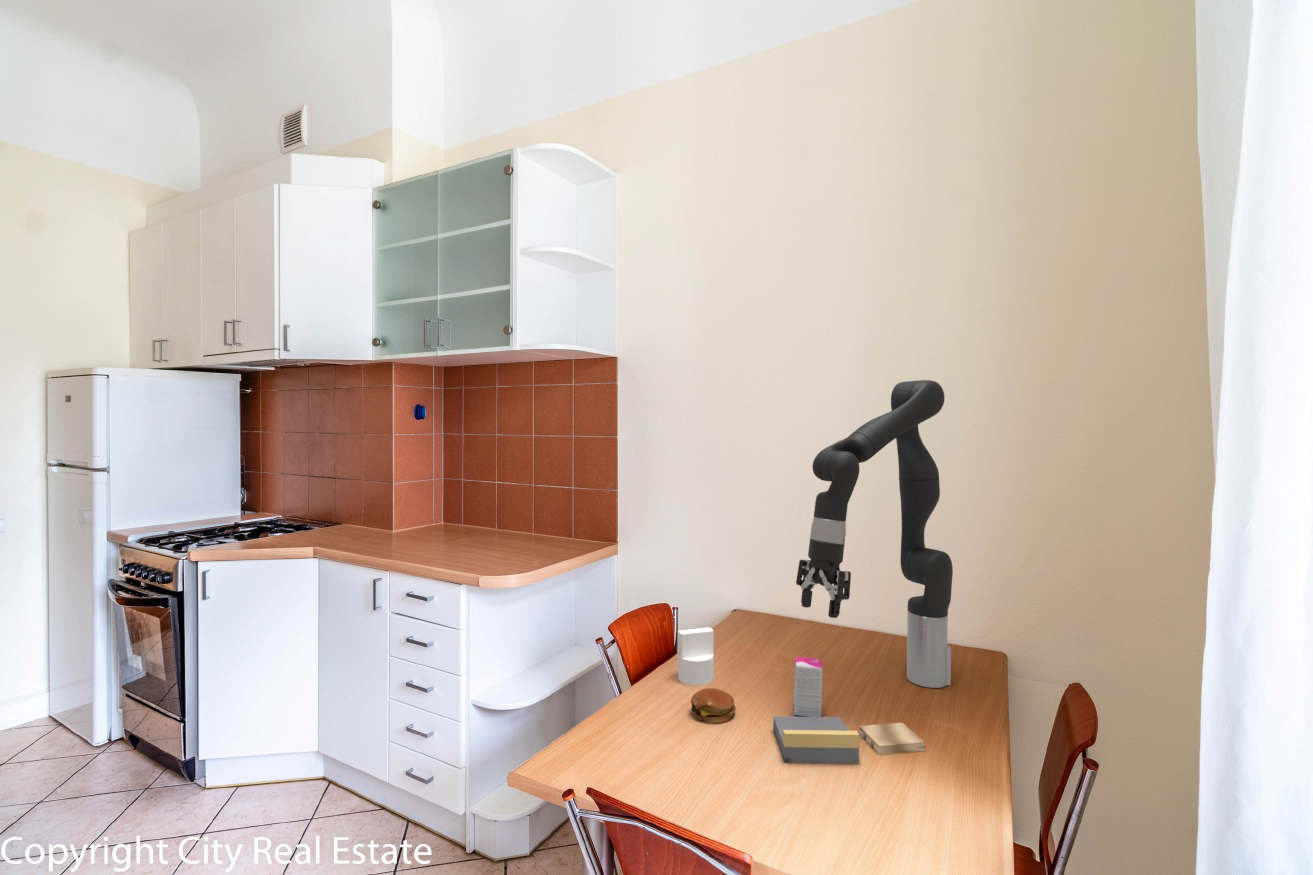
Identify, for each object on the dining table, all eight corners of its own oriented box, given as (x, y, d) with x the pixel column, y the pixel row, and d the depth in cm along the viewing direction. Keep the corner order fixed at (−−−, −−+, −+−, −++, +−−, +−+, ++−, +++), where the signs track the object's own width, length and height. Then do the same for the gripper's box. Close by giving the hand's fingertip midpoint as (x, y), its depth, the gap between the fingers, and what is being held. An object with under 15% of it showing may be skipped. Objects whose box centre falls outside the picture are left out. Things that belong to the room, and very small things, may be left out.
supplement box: (822, 720, 129) (822, 667, 129) (794, 717, 130) (794, 665, 130) (820, 708, 135) (820, 657, 135) (793, 705, 136) (793, 655, 136)
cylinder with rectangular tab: (705, 668, 157) (705, 623, 156) (719, 682, 148) (719, 634, 148) (672, 673, 154) (673, 626, 154) (685, 687, 145) (685, 638, 145)
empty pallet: (903, 731, 125) (903, 722, 125) (925, 751, 117) (925, 741, 117) (858, 735, 123) (858, 725, 123) (878, 755, 116) (878, 745, 116)
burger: (729, 703, 137) (729, 683, 137) (739, 723, 128) (739, 702, 128) (687, 705, 136) (687, 685, 136) (693, 726, 127) (693, 704, 127)
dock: (840, 731, 124) (840, 705, 124) (858, 763, 112) (859, 734, 112) (773, 730, 125) (773, 704, 125) (784, 762, 113) (784, 733, 113)
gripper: (863, 545, 129) (855, 621, 128) (817, 535, 142) (809, 603, 141) (838, 543, 126) (829, 621, 125) (793, 533, 138) (785, 603, 137)
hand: (819, 611), depth 133 cm, fingers open, 8 cm apart
